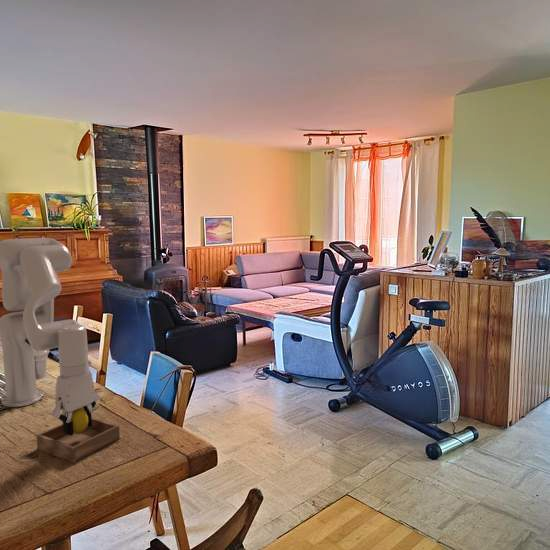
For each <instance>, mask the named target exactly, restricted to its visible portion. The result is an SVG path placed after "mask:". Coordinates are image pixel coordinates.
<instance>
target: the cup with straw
mask: <svg viewBox="0 0 550 550" xmlns="http://www.w3.org/2000/svg"><path fill="white" fill-rule="evenodd" d="M32 349H33V348H32ZM33 351H34V361H35V375H36V379H41V378H44V377H47V366H48V365H47V363H48V355H49V353H50V349H48V350H43V351H37V350H35V349H33Z"/></svg>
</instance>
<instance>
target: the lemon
mask: <svg viewBox="0 0 550 550" xmlns="http://www.w3.org/2000/svg"><path fill="white" fill-rule="evenodd" d="M71 421H72V422H73V433H76V434H80V433H81V432H83V431H84V430H85V429H86V428H87V425H88V416H87V413H86V411H85V410H83V409H81V408H79V409H77V410H75V411H73V412H72V416H71Z"/></svg>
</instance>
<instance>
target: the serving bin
mask: <svg viewBox="0 0 550 550" xmlns="http://www.w3.org/2000/svg"><path fill="white" fill-rule="evenodd" d="M120 435H121V434H120V425H118V424H114V423H111V422H107V421H104V420H101V419H98V418H95V417H92V426H91V427H88V426H87V428H86V429H85V430H84V431H83V432H81V433H80V434H76V433H73V435H71V436H70V435H67V434H65V433H64V430H63V423H62V424H60V425H57V426H54V427H52V428H50V429H48V430H46V431H44V432H41V433H38V434H36V446H37V447H36V448H37V449H38V450H40V451H42V452H45V453H48V454H50V455H53V456H54V457H55V456H56V457H58V458H61V459H62V460H65V461H68V462H71V463H74V464H75V463H77V462H78V461H80V460H82V459H85V458H86V457H88V456H90V455H91V454H93V453H96V452H98V451H100V450H101V449H103V448H105V447H107V446H108V445H111V444H112V443H114V442H117V441H119V440H120Z"/></svg>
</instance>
